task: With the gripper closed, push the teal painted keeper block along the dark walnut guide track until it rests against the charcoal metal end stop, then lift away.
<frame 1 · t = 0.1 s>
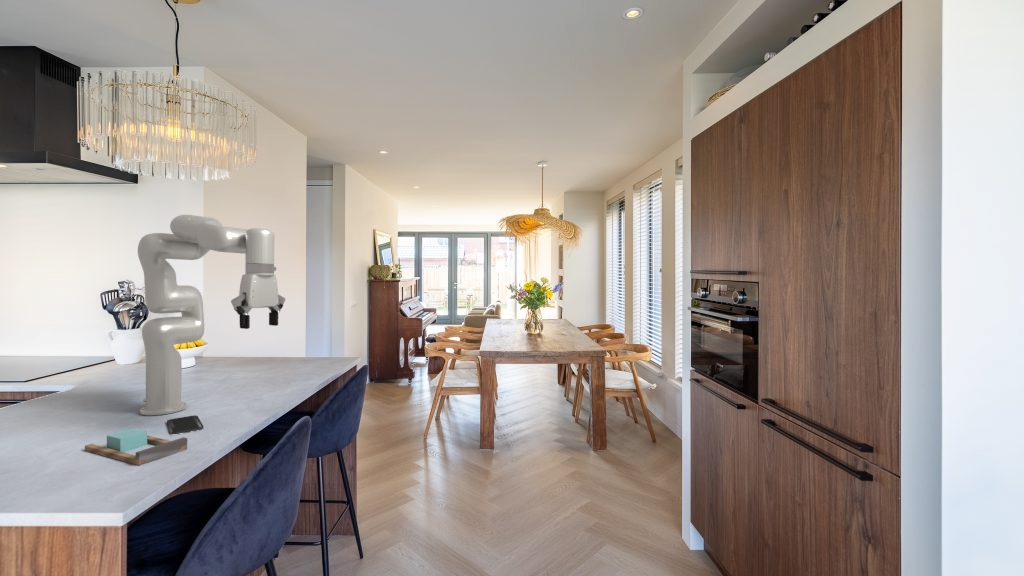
hand: (259, 326, 131), 31 cm above the kitchen island, tool pointing down, fingers open, 9 cm apart
phone: (184, 427, 134), on the kitchen island
guide track: (136, 449, 115), on the kitchen island
keeper block: (127, 448, 117), resting in guide track
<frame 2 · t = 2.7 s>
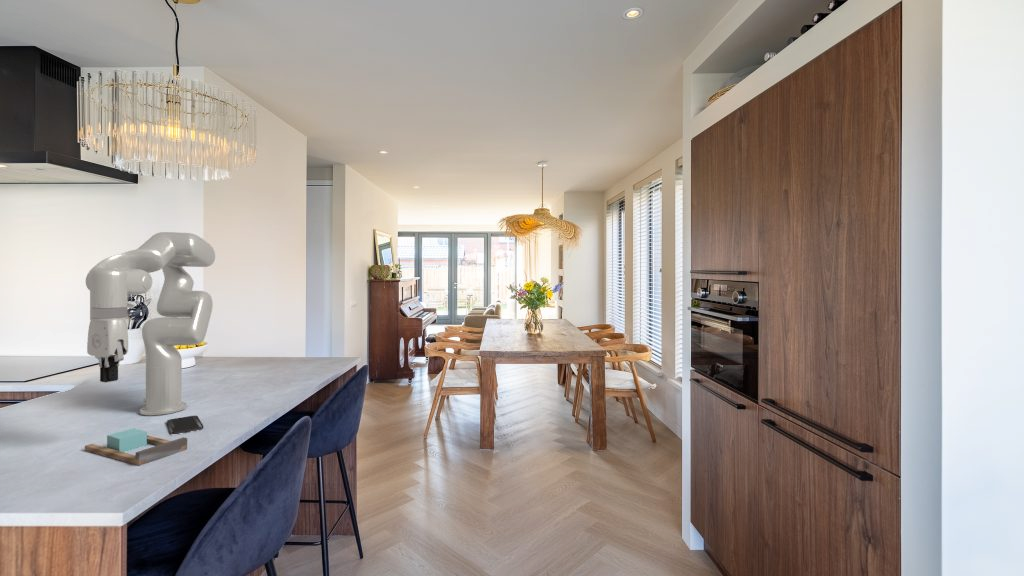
hand: (109, 380, 119), 17 cm above the kitchen island, tool pointing down, fingers closed
nothing on the kitchen island moved.
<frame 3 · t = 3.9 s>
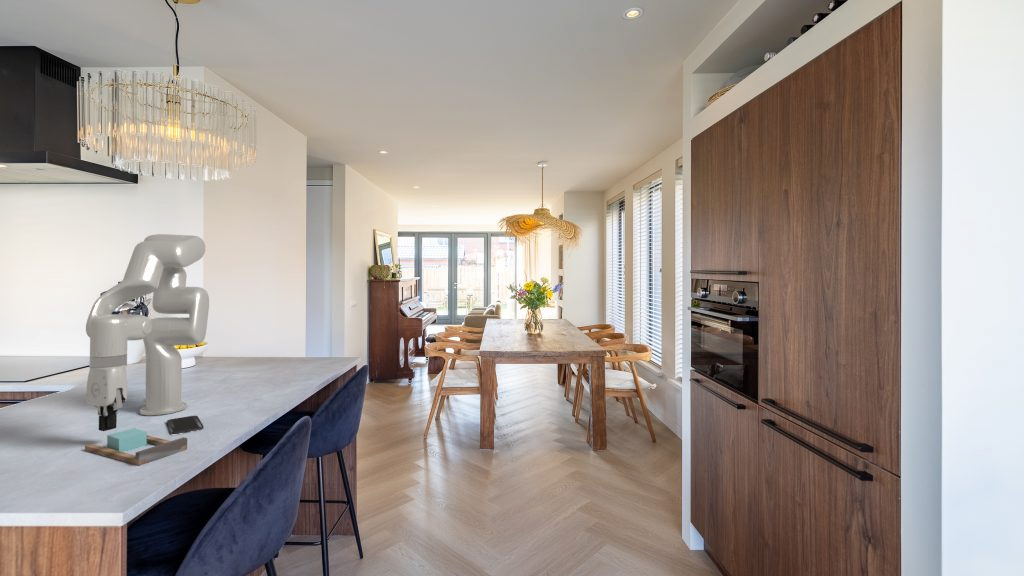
hand: (107, 429, 119), 4 cm above the kitchen island, tool pointing down, fingers closed
nothing on the kitchen island moved.
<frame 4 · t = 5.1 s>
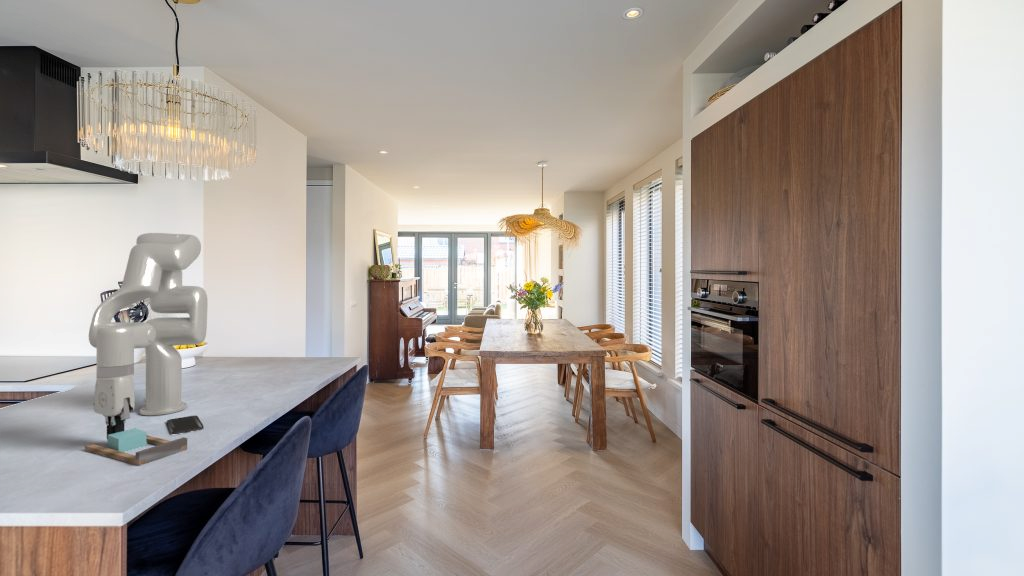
hand: (115, 438, 118), 2 cm above the kitchen island, tool pointing down, fingers closed
keeper block: (127, 448, 117), resting in guide track, touching gripper
everything else where it was.
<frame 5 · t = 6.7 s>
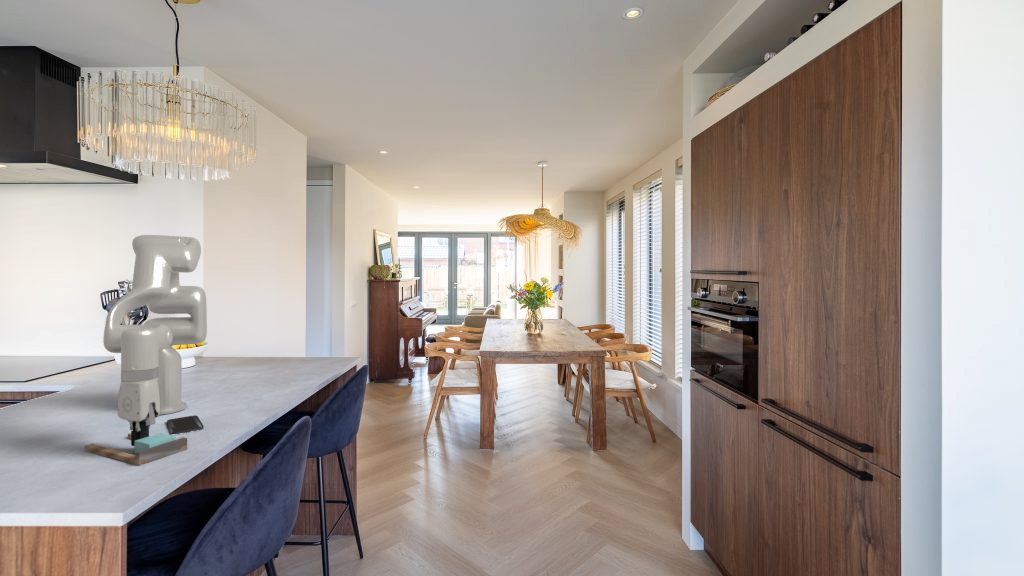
hand: (140, 444, 114), 2 cm above the kitchen island, tool pointing down, fingers closed
keeper block: (155, 453, 113), resting in guide track, touching gripper
everything else where it was.
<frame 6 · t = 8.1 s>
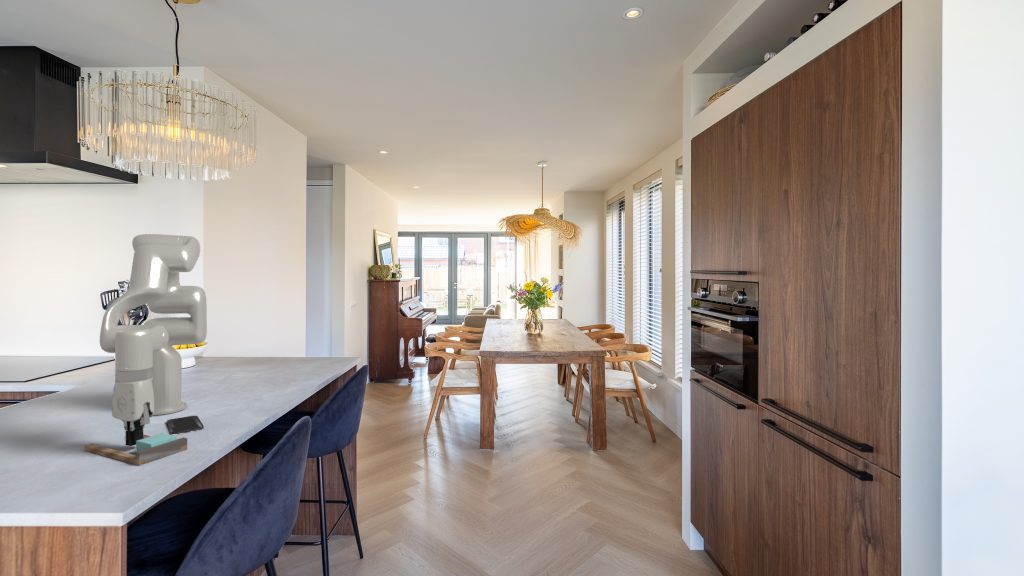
hand: (134, 443, 116), 1 cm above the kitchen island, tool pointing down, fingers closed
keeper block: (156, 453, 113), resting in guide track
everything else where it was.
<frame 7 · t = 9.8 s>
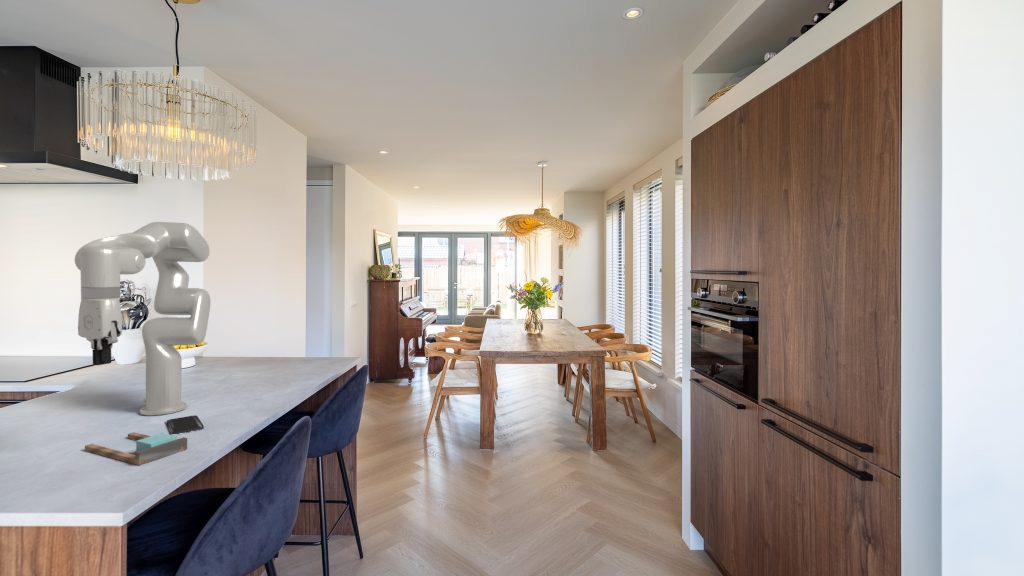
hand: (102, 363, 114), 23 cm above the kitchen island, tool pointing down, fingers closed
nothing on the kitchen island moved.
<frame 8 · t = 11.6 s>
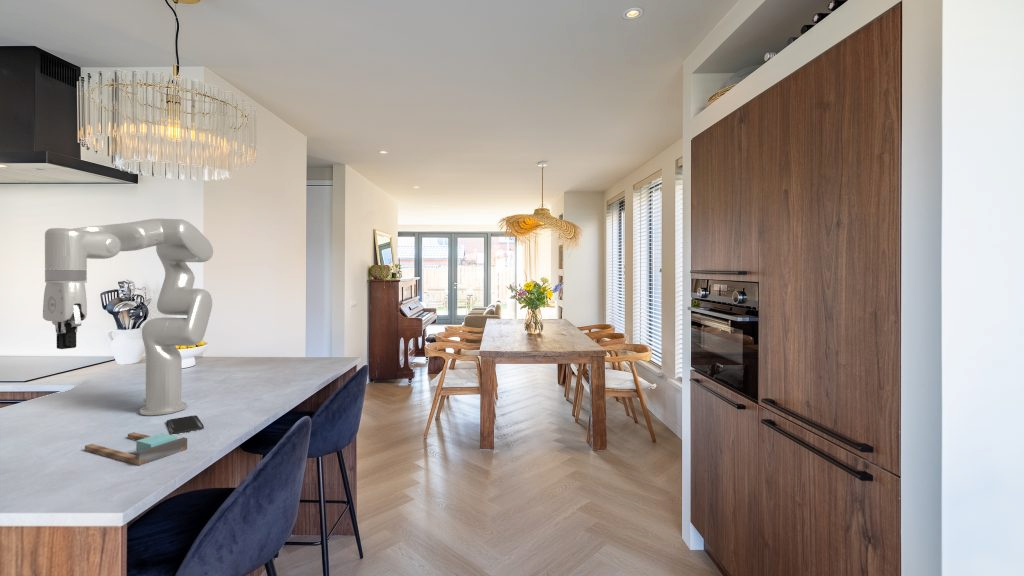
hand: (66, 348, 112), 27 cm above the kitchen island, tool pointing down, fingers closed
nothing on the kitchen island moved.
at the end: keeper block 1.0 cm from the target spot, resting in guide track; keeper block moved 11.0 cm from its start; keeper block tilted 0° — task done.
